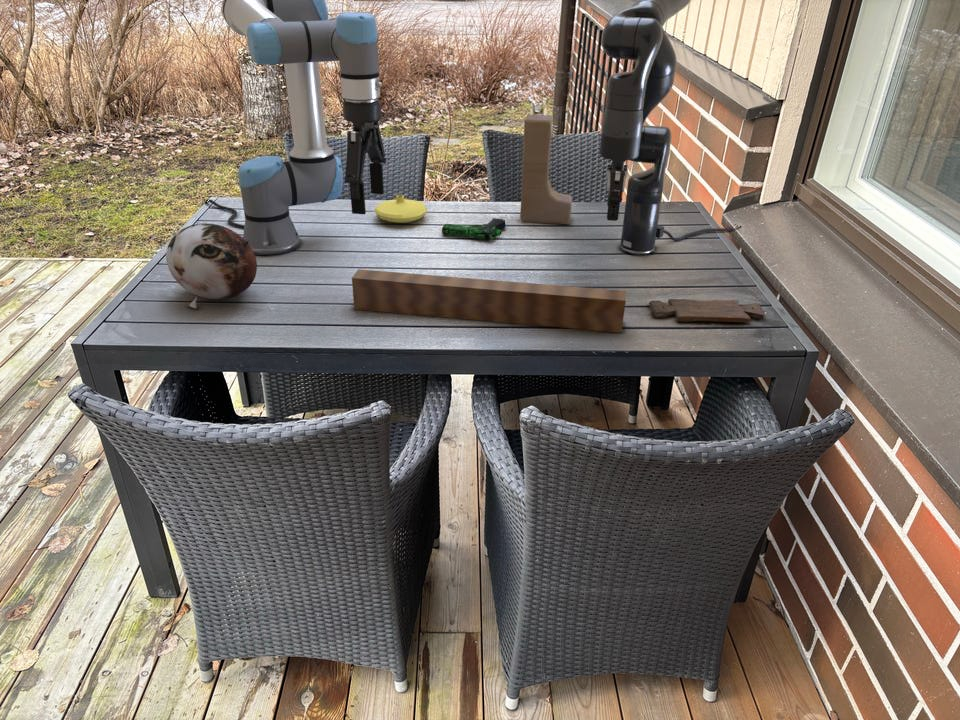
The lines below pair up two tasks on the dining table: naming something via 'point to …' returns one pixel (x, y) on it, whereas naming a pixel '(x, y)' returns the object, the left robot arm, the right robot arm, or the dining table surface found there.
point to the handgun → (476, 230)
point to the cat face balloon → (211, 261)
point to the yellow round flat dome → (400, 210)
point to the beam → (489, 300)
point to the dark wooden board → (706, 310)
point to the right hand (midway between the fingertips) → (612, 213)
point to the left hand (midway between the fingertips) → (368, 203)
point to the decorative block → (540, 176)
